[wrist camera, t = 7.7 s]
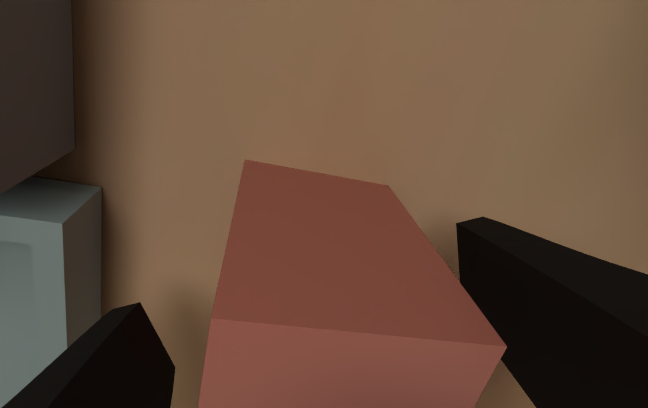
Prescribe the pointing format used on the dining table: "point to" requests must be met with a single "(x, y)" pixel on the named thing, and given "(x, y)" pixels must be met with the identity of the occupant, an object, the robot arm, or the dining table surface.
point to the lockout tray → (46, 274)
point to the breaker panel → (35, 87)
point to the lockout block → (338, 303)
